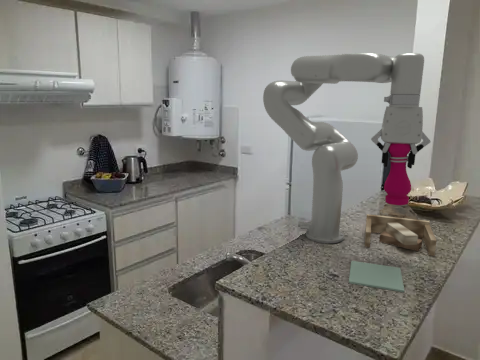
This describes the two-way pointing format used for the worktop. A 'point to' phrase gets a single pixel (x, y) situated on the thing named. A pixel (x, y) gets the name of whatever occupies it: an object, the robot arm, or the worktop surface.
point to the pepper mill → (398, 175)
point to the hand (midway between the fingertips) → (397, 166)
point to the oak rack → (416, 226)
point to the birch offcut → (401, 233)
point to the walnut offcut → (398, 242)
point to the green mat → (376, 276)
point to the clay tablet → (398, 211)
